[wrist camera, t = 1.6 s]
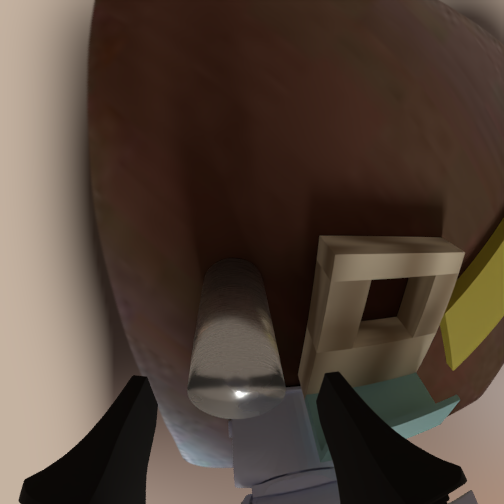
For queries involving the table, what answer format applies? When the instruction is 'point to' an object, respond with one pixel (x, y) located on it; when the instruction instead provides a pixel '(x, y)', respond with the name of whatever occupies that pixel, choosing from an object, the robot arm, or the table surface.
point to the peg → (235, 345)
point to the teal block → (391, 408)
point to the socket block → (354, 299)
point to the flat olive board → (475, 301)
